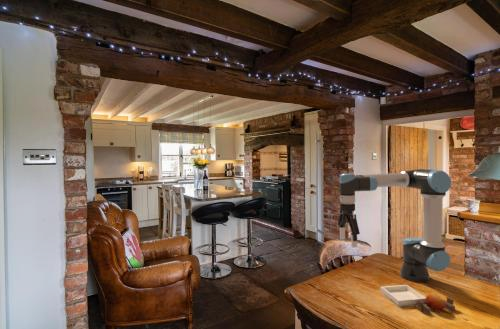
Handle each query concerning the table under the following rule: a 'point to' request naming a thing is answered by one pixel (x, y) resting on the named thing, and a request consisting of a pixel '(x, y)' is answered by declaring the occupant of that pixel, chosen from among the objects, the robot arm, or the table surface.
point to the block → (426, 309)
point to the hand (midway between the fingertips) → (348, 243)
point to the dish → (402, 295)
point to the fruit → (435, 302)
